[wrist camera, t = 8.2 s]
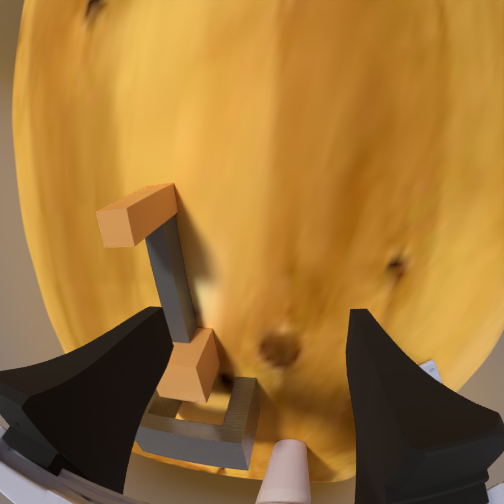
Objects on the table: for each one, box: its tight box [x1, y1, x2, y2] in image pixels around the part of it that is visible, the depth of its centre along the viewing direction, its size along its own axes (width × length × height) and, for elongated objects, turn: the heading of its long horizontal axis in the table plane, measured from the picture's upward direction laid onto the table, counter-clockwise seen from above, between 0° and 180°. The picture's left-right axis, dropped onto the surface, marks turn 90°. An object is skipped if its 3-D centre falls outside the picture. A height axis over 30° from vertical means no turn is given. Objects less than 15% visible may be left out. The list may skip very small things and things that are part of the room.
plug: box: [96, 183, 220, 403], centre depth 20 cm, size 16×4×6 cm, turn 5°
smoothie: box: [256, 439, 311, 504], centre depth 23 cm, size 6×6×14 cm
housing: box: [135, 377, 260, 470], centre depth 24 cm, size 5×10×7 cm, turn 95°
